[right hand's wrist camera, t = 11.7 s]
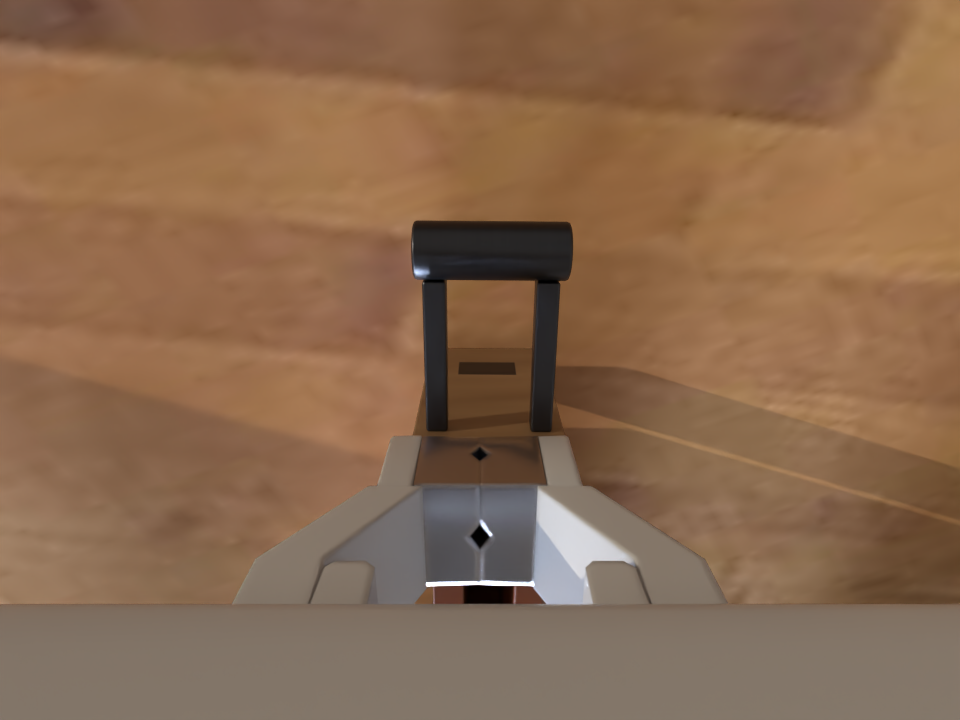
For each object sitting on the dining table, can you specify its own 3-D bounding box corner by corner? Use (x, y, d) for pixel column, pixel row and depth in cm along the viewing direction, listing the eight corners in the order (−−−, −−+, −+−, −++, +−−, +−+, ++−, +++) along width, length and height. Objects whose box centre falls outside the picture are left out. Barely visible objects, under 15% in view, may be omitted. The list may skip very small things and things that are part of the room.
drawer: (427, 193, 21) (390, 242, 12) (548, 194, 21) (599, 243, 12) (439, 688, 29) (421, 928, 21) (524, 688, 29) (544, 928, 21)
